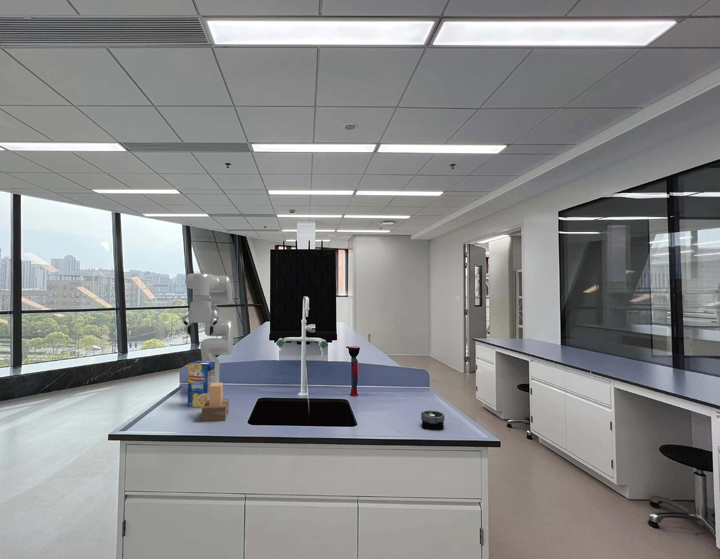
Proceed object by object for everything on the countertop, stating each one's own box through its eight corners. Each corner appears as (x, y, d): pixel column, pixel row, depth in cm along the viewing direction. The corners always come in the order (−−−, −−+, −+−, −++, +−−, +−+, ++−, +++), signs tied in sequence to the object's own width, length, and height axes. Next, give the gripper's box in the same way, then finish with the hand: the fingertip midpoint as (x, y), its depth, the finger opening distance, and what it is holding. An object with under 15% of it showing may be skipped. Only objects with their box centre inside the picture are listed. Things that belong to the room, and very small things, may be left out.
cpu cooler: (421, 409, 183) (443, 410, 182) (421, 422, 183) (443, 423, 181) (420, 416, 173) (444, 418, 171) (420, 429, 173) (444, 431, 171)
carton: (211, 401, 191) (211, 382, 191) (222, 401, 192) (222, 382, 192) (209, 406, 184) (209, 386, 184) (220, 405, 185) (220, 385, 185)
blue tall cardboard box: (207, 408, 201) (207, 364, 202) (187, 406, 203) (188, 363, 204) (214, 404, 208) (215, 361, 208) (195, 402, 210) (196, 360, 210)
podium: (207, 412, 194) (207, 400, 194) (228, 411, 196) (228, 399, 196) (201, 421, 180) (202, 408, 180) (224, 420, 182) (225, 407, 182)
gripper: (220, 299, 199) (220, 333, 198) (183, 298, 195) (182, 334, 195) (218, 299, 191) (218, 335, 191) (180, 299, 188) (179, 335, 187)
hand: (200, 334), depth 193 cm, fingers open, 9 cm apart
